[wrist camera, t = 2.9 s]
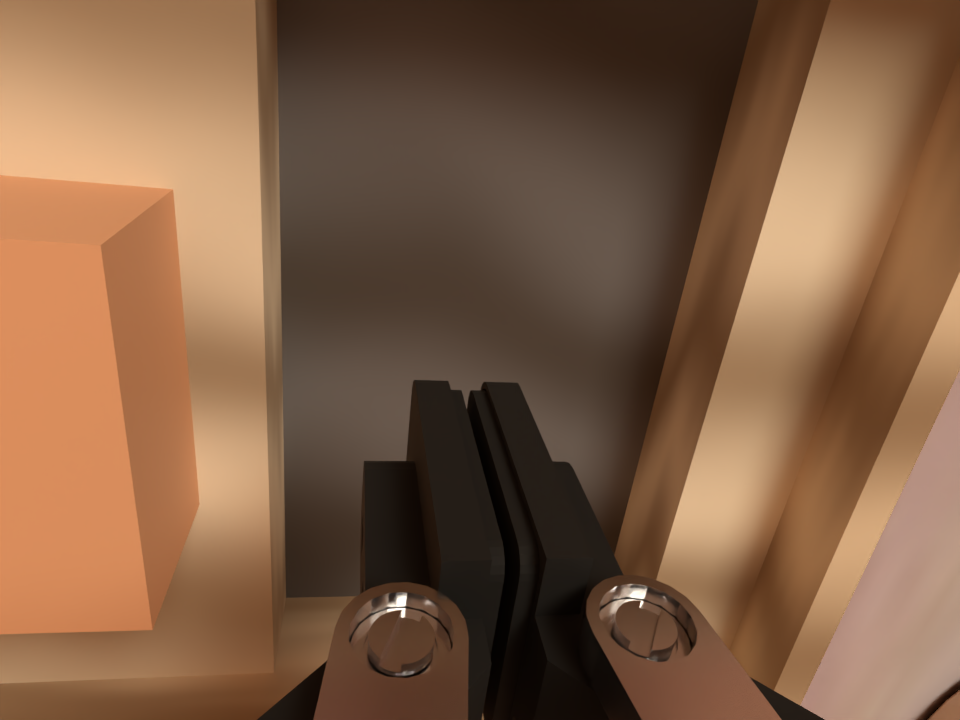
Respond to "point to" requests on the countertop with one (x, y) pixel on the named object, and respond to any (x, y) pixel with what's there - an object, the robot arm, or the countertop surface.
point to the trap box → (514, 291)
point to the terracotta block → (91, 406)
